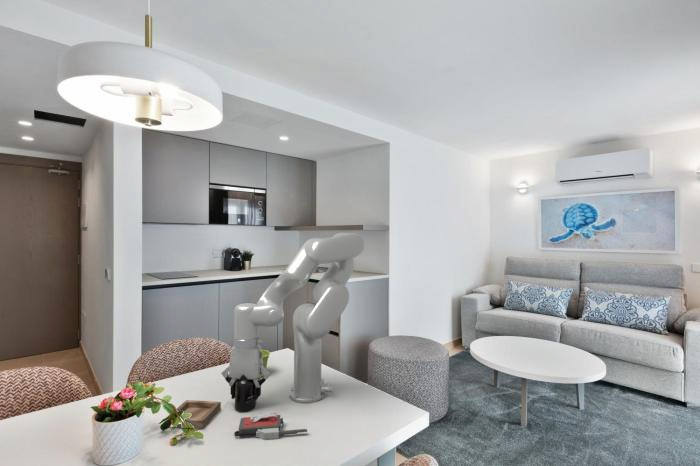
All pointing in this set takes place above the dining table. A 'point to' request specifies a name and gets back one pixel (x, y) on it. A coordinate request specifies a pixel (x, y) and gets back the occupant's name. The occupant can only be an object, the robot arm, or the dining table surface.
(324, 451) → the dining table surface
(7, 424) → the dining table surface
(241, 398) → the supplement bottle
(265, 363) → the plant pot
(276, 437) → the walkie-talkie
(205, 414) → the wooden tray
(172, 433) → the dining table surface
